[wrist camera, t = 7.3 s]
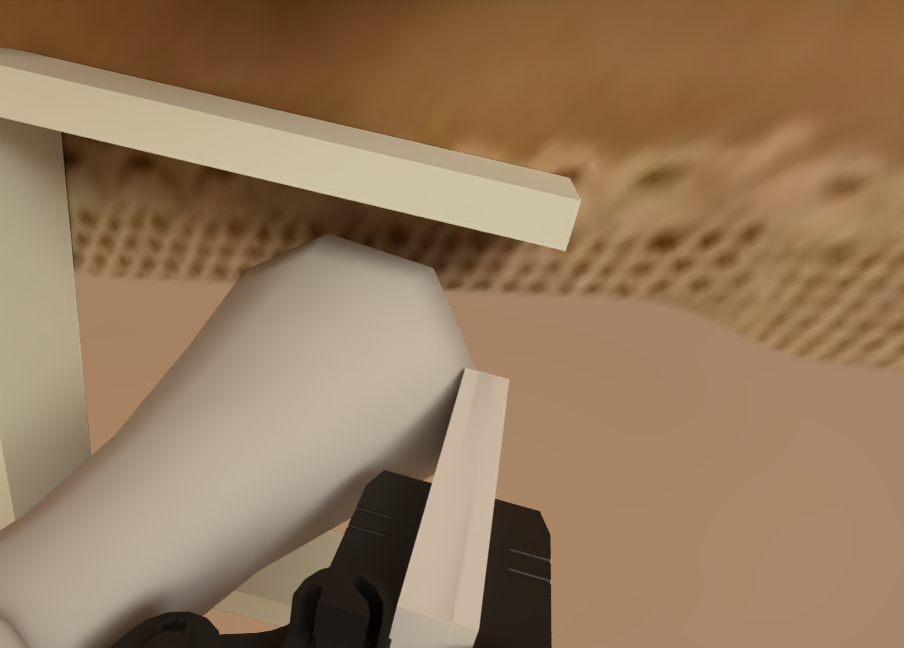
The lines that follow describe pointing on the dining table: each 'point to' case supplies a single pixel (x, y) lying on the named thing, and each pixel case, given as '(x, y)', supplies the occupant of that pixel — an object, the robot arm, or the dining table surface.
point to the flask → (242, 446)
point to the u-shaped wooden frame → (219, 146)
